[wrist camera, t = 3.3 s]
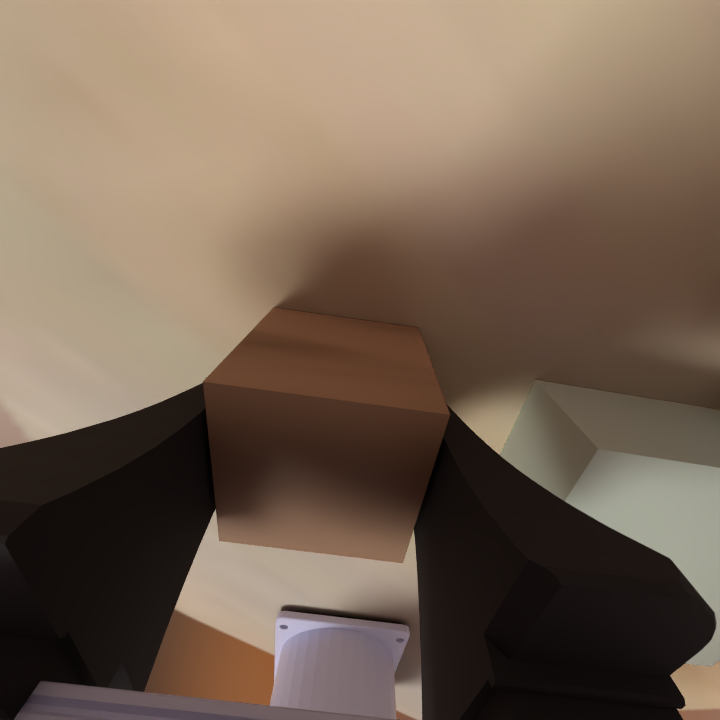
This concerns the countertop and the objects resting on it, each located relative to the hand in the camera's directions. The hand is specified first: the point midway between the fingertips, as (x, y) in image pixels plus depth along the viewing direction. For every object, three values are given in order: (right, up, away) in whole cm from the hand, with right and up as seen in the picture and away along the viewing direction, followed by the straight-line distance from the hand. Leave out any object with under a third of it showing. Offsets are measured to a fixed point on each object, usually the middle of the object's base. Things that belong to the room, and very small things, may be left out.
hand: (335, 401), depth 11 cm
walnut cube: (0, +1, +1) cm, 1 cm away
